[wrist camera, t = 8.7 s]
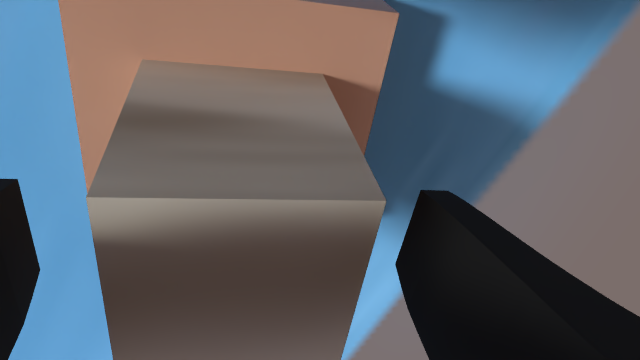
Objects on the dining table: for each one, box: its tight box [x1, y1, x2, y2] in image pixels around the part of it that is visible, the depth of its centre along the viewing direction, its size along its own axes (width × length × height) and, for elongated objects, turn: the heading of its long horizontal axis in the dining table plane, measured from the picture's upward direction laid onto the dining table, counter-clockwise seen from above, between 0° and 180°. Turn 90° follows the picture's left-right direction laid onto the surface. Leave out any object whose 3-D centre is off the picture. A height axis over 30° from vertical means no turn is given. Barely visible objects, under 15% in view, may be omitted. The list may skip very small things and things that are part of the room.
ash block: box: [86, 59, 386, 360], centre depth 9 cm, size 4×4×5 cm
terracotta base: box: [58, 0, 399, 193], centre depth 12 cm, size 7×7×2 cm
